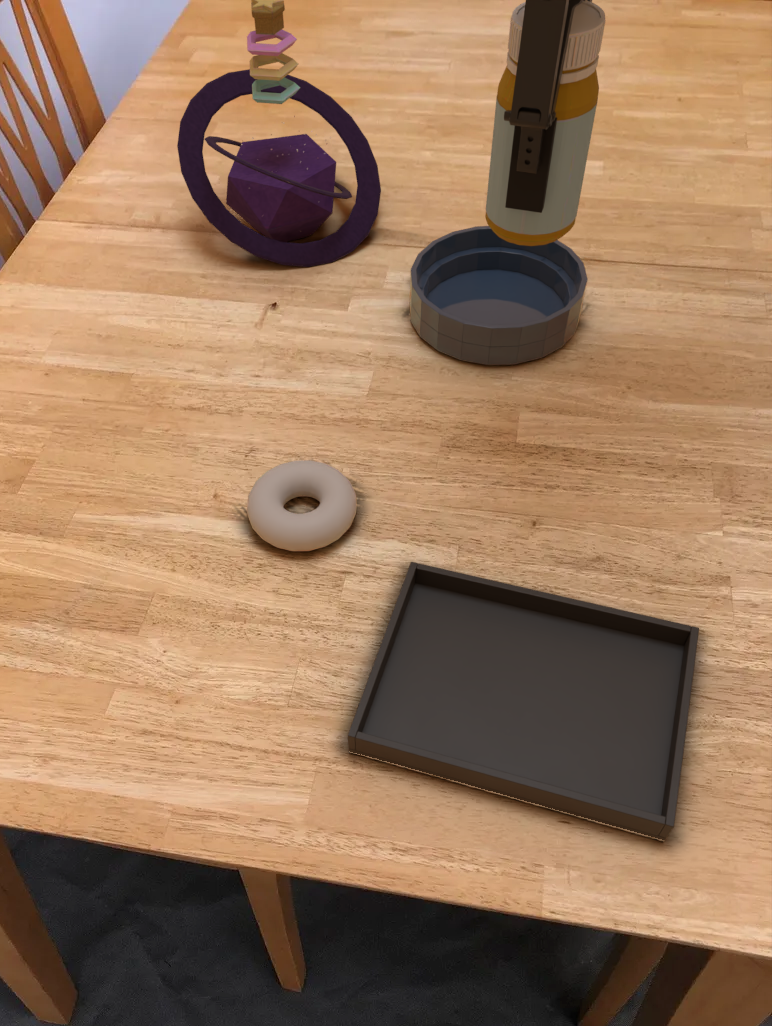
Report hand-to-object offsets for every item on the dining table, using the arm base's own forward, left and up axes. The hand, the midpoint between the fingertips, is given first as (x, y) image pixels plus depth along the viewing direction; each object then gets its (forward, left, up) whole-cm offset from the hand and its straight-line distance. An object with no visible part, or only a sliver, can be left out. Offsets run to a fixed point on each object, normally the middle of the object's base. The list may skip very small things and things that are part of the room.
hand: (535, 180), depth 70 cm
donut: (+15, +16, -25) cm, 34 cm away
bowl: (+5, -18, -25) cm, 31 cm away
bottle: (0, 0, -4) cm, 4 cm away
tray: (-8, +29, -25) cm, 40 cm away
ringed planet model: (+33, -28, -25) cm, 50 cm away
